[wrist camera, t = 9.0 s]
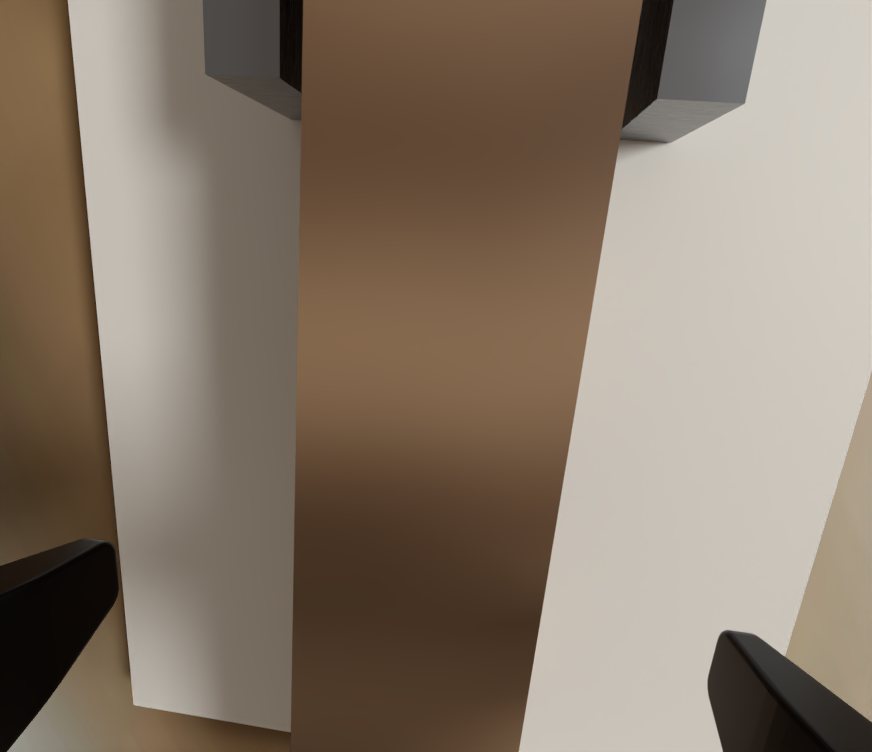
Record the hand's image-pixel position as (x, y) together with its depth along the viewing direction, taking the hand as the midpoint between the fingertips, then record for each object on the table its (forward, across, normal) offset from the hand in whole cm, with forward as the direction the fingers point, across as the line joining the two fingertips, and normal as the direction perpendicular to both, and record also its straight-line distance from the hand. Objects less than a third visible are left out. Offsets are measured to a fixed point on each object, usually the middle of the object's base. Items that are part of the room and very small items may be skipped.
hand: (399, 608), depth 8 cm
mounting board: (+7, 0, -2) cm, 7 cm away
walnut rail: (+6, 0, 0) cm, 6 cm away
